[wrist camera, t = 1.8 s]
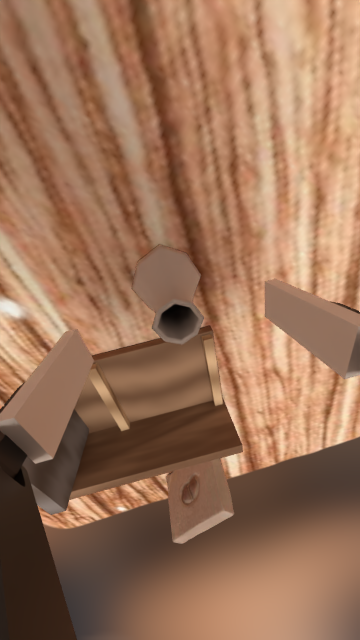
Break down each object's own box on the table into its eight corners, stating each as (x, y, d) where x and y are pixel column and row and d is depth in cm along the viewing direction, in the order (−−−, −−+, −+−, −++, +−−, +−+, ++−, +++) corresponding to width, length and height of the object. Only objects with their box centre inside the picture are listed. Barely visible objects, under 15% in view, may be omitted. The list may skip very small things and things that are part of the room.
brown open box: (39, 369, 24) (-28, 459, 15) (210, 325, 24) (245, 386, 15) (88, 433, 30) (62, 522, 21) (221, 398, 31) (250, 470, 22)
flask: (174, 321, 23) (188, 381, 15) (120, 289, 21) (98, 340, 12) (211, 272, 21) (255, 307, 12) (156, 230, 19) (162, 237, 10)
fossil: (206, 444, 37) (223, 511, 28) (218, 450, 38) (237, 514, 30) (165, 475, 40) (169, 543, 31) (177, 479, 41) (185, 545, 33)
